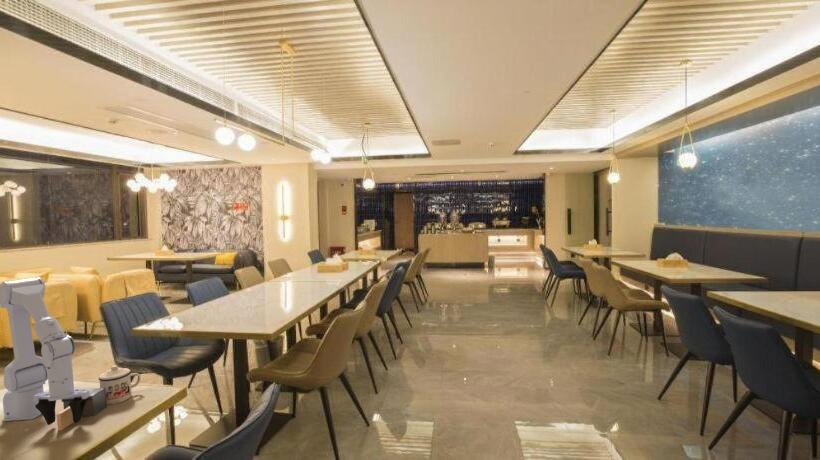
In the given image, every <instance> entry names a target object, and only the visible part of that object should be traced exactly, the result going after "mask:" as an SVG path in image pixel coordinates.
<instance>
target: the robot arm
mask: <svg viewBox="0 0 820 460" xmlns="http://www.w3.org/2000/svg"><path fill="white" fill-rule="evenodd" d="M45 294H46V285H45V281H44V280H43V279H42V278H41V277H39V276H36V277H34V278H26V279H18V280H11V281H1V282H0V308H1V309H5V310H6V311H7V314H8V322H9V327H10V328H9V329H10V335H11V336H10V337H11V342H12V350H13V356H14V359H13V360H12V361H11V362H10V363H9V364H7V366H5V368H4V370H3V373H4V374H3V375H4V376H3V385H4V387H5V389H6V392H5V393H4V395H3V396H2V397H3V398H2V406H3V416H4V418H2V419H1V421H2V422H8V421H9V422H10V421H23V420H24V421H26V420H27V421H28V420H34V419H36V418H37V417H39V416H41V415H42V416H43V418H44V420H45V423H46V424H47V426H50V425H53V424H54V423H55V422H56V403H57V401H58V400H61V399H74V400H73V401H71V402H69V403H68V404H69V406H70V408H71V411H72V414H73V424H78V423H80V421H82V418H83V417H82V413H83V410H84V407H85V404H86V402H87V400H88V398H89V396H90V392H89V390H80V389H81V388H75V384H74V383H75V382H74V373H73V372H74V370H73V358H72V355H74V353H76V344H75V341H74V339H73V336H70V335H69V333H65V332H64V330H63V328H62V327H61V325H60V323H59V320H58V319H57V318H55V317H51V316H50V313H49V310H48V308H47V307H48V306H47V305H46V302H45V300H44V297H45ZM30 316H31V317H30ZM31 319H33V321H34V322H35V324H34V326H33V330H34V333H35V334H36V336H37V338H38V340H39V342H40V345H41V350H40V351H41V355H42V356H39V355H36V350H35V344H34V336H33V330H32V325H31V324H32V323H31ZM47 380H48V391H45V392H44V385H46V382H47Z"/></svg>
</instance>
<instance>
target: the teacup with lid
mask: <svg viewBox="0 0 820 460" xmlns="http://www.w3.org/2000/svg"><path fill="white" fill-rule="evenodd" d="M133 376H137V380H136V382H135V383H134V384H132V383H131V381H132V379H131V377H133ZM98 380H99V388H105V390H106V403H107V405H108V406H109V405H114V404H119V403H121V402H125V401H127V400H128V399H130V398H131V397H132V389H133V388H136V387H137V386H138V385H139V384H140V382H141V375H140V373H137V372H132V371H131V369H129V368H126V367H125V368H124V367H119V365H116V364H114V365H112V366H111V367H110V369H108V370H107V371H105V372H103V373H101V374H100V375H99V376H98Z"/></svg>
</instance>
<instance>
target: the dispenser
mask: <svg viewBox="0 0 820 460" xmlns="http://www.w3.org/2000/svg"><path fill="white" fill-rule="evenodd" d="M79 389H80V390H89V392H90V396H89V398H88V400H87V402H86V404H85V407H84V410H83V413H82V418H86V417H88V418H89V417H95V416H97V415H98V414H99V413H101V412H102V411H104V410H106V409H107V407H108V406H107V403H106V390H105V388H100V387H95V388H79ZM73 400H74V399H60V401H61V403H63V410H64V409H66V408H67V407H69V404H68V403H69V402H71V401H73Z"/></svg>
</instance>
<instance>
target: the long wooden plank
mask: <svg viewBox="0 0 820 460" xmlns="http://www.w3.org/2000/svg"><path fill="white" fill-rule="evenodd" d="M56 422H57V423H56V424H57V431H58V432H59V430H61V431H63V430H64V429H66V428H68V427H69V426H70V425H72V424H74V422H73V414H72V411H71V408H70V406H69V407H67V408H66V409H64V408H63V409H62V410H61V411H60V412H58V413H56Z"/></svg>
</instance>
